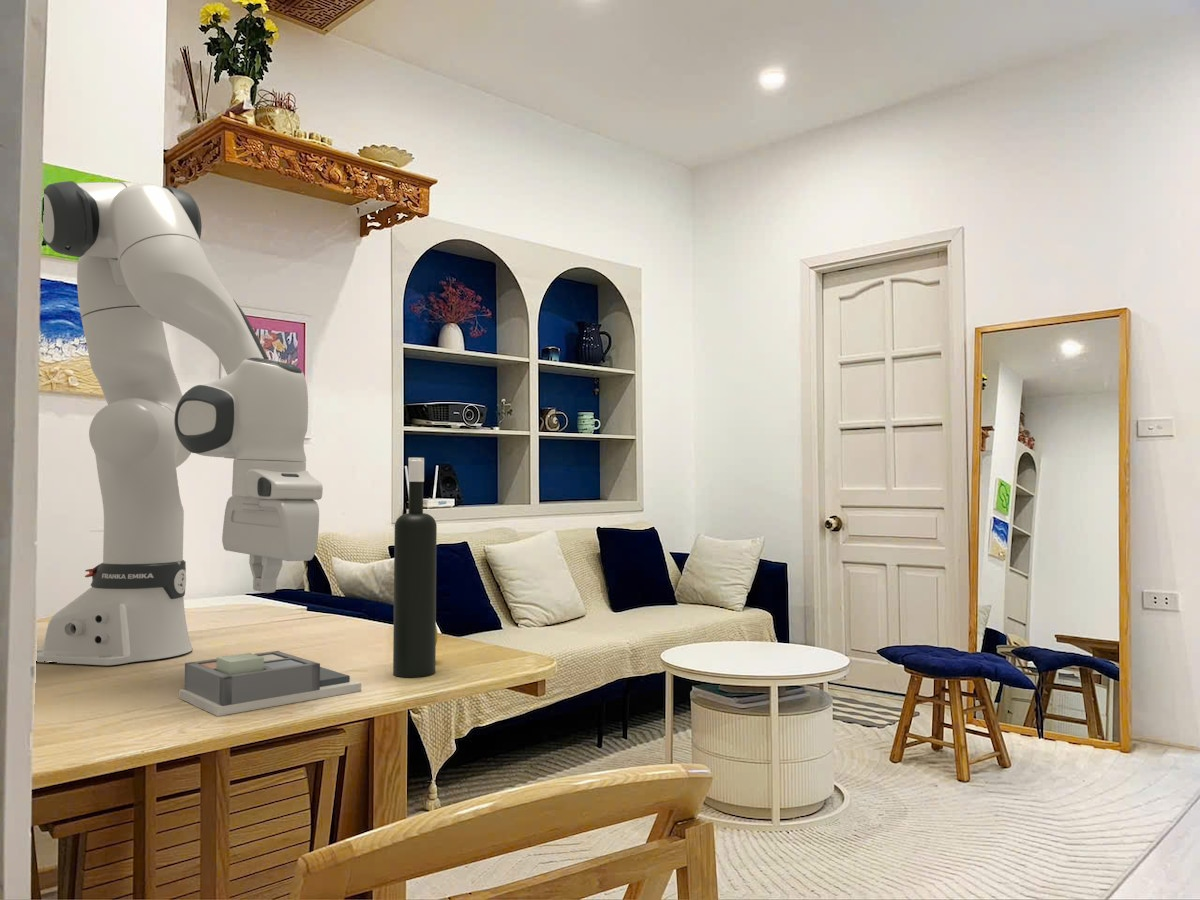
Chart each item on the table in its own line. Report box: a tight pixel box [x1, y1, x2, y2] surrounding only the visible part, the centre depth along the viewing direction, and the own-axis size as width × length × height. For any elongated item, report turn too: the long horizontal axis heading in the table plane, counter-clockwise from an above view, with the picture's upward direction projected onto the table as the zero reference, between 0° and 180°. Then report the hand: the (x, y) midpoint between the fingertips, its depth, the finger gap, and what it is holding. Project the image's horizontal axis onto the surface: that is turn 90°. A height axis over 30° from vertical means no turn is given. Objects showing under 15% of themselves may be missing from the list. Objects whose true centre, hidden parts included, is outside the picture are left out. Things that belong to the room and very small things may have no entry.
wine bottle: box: [392, 457, 438, 678], centre depth 126 cm, size 6×6×30 cm
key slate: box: [264, 660, 302, 669], centre depth 110 cm, size 4×4×2 cm
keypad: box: [178, 650, 362, 717], centre depth 112 cm, size 18×12×4 cm, turn 134°
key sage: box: [216, 652, 264, 675], centre depth 107 cm, size 4×4×2 cm
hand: (264, 591), depth 115 cm, fingers closed
